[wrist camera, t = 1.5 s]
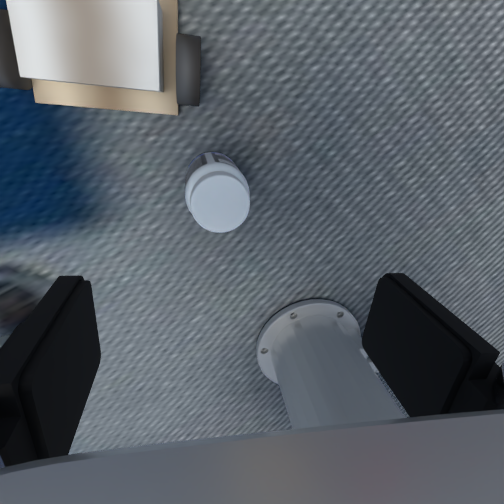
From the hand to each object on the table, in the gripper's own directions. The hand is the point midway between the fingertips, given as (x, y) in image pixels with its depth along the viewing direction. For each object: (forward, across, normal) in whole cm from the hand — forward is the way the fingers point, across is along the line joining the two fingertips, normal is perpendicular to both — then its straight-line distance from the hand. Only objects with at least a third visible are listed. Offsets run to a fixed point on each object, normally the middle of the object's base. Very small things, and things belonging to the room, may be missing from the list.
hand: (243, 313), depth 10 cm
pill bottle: (+21, 0, 0) cm, 21 cm away
